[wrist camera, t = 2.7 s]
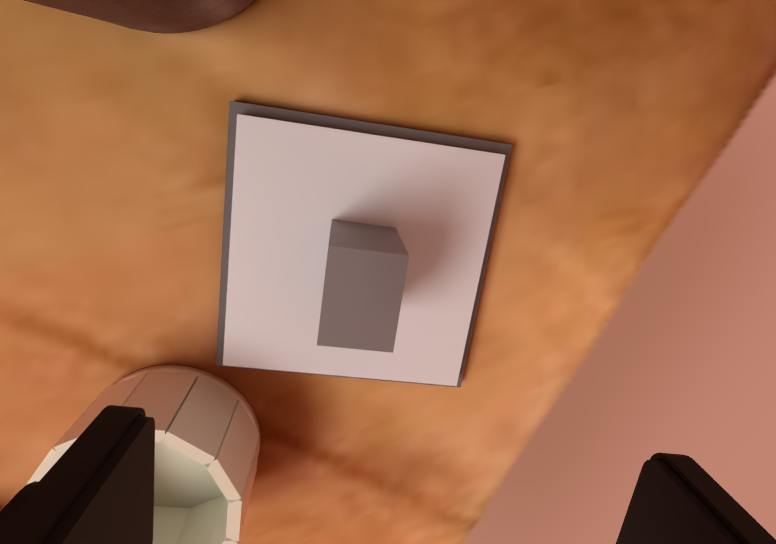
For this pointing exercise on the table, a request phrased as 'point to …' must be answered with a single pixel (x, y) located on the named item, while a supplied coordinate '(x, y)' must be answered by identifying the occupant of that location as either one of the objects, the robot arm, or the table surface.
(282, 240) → the lid
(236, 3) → the plant pot
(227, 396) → the bowl
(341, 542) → the table surface
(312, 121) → the mat
